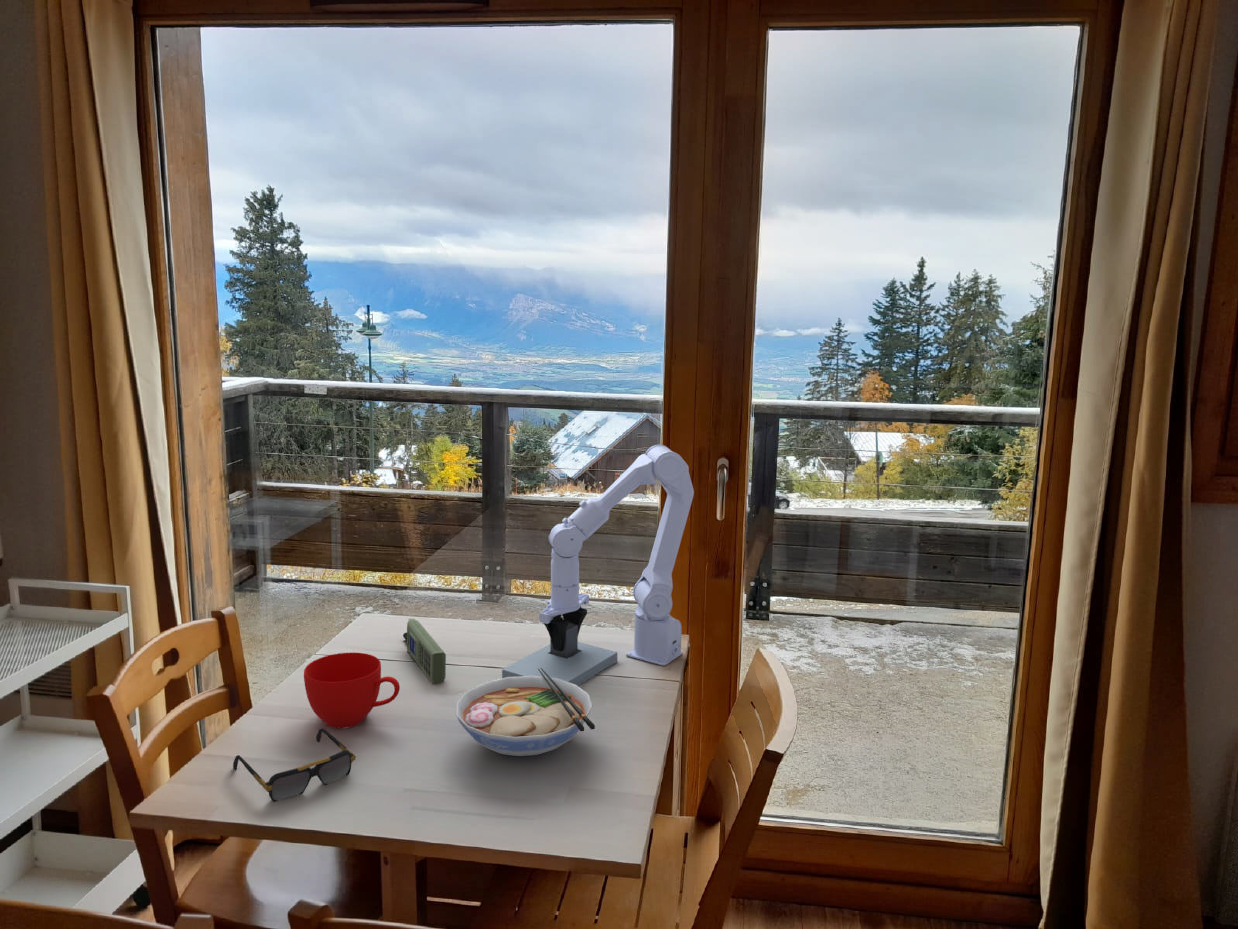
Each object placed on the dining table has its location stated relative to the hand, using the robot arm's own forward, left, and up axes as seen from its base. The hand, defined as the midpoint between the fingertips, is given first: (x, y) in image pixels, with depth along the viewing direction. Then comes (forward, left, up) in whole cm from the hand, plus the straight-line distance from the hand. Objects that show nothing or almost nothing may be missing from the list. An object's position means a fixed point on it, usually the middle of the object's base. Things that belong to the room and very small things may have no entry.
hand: (564, 646), depth 184 cm
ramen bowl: (-15, +32, -3) cm, 36 cm away
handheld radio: (+25, +16, -4) cm, 30 cm away
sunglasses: (+9, +59, -4) cm, 60 cm away
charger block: (0, 0, -2) cm, 2 cm away
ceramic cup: (+15, +42, -3) cm, 45 cm away
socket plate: (-2, +4, -3) cm, 5 cm away
